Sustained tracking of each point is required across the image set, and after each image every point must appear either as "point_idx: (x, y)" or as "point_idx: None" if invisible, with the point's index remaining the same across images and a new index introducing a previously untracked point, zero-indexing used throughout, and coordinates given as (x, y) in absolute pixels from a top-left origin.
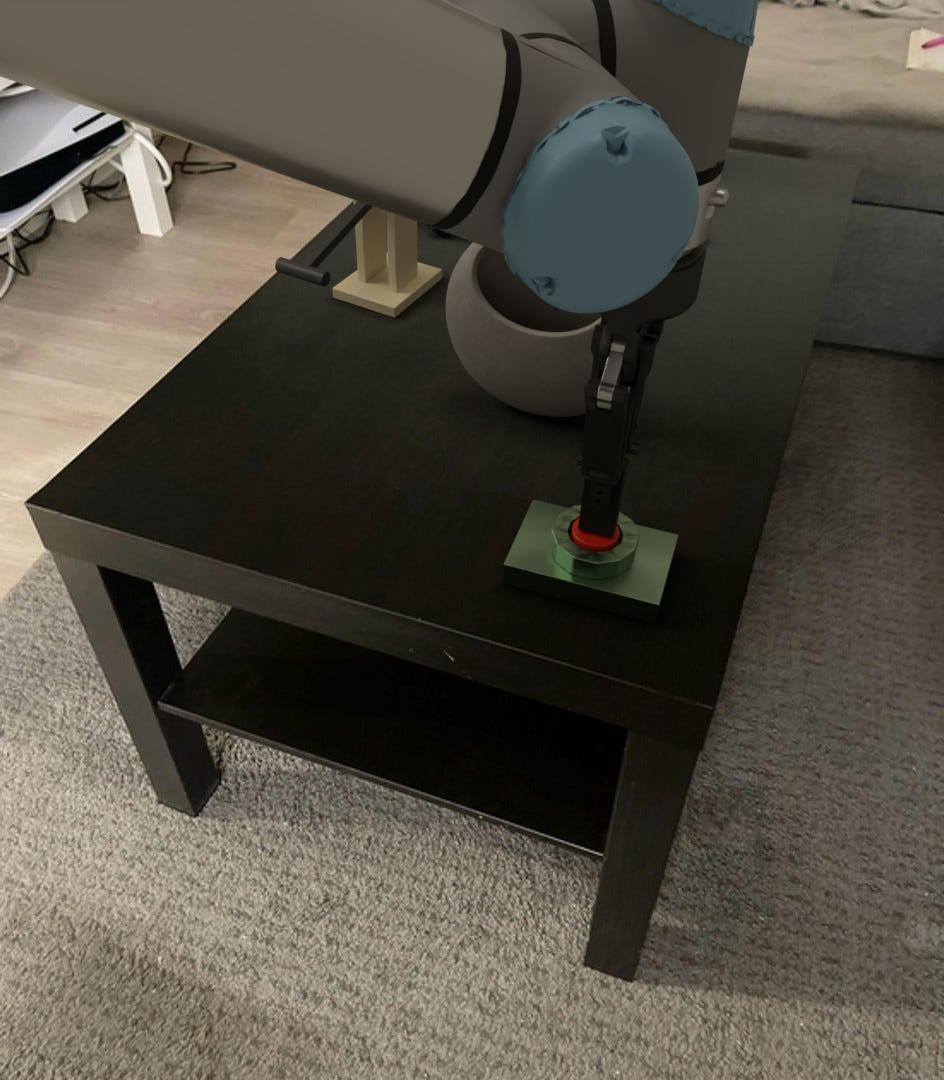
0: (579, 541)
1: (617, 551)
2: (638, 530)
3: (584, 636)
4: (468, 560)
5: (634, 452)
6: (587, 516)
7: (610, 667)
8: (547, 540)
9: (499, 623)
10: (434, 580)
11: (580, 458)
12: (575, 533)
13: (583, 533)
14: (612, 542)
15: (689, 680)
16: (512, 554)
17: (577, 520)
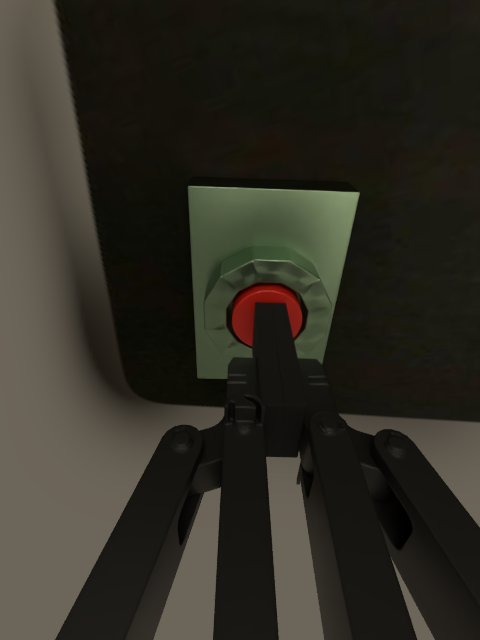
0: (236, 304)
1: (236, 349)
2: (316, 344)
3: (152, 298)
4: (224, 101)
5: (297, 480)
6: (255, 329)
7: (124, 329)
8: (264, 239)
9: (121, 195)
10: (154, 50)
11: (245, 411)
12: (249, 298)
13: (254, 307)
14: (248, 344)
15: (146, 388)
16: (213, 194)
17: (280, 294)
